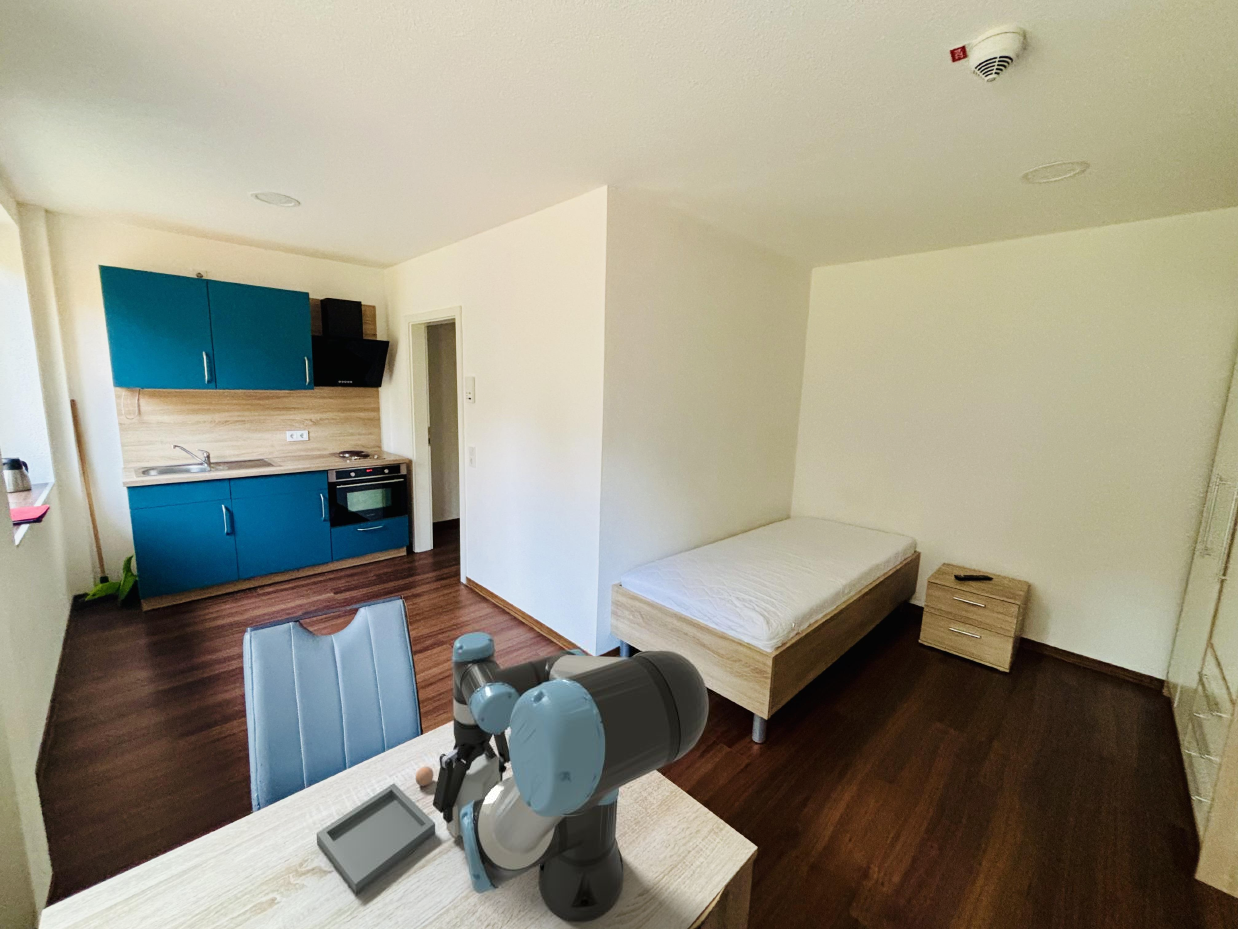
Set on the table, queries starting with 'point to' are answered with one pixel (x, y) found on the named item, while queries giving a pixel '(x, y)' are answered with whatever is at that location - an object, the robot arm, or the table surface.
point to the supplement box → (477, 782)
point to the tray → (375, 837)
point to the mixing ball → (424, 776)
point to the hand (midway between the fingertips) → (474, 814)
